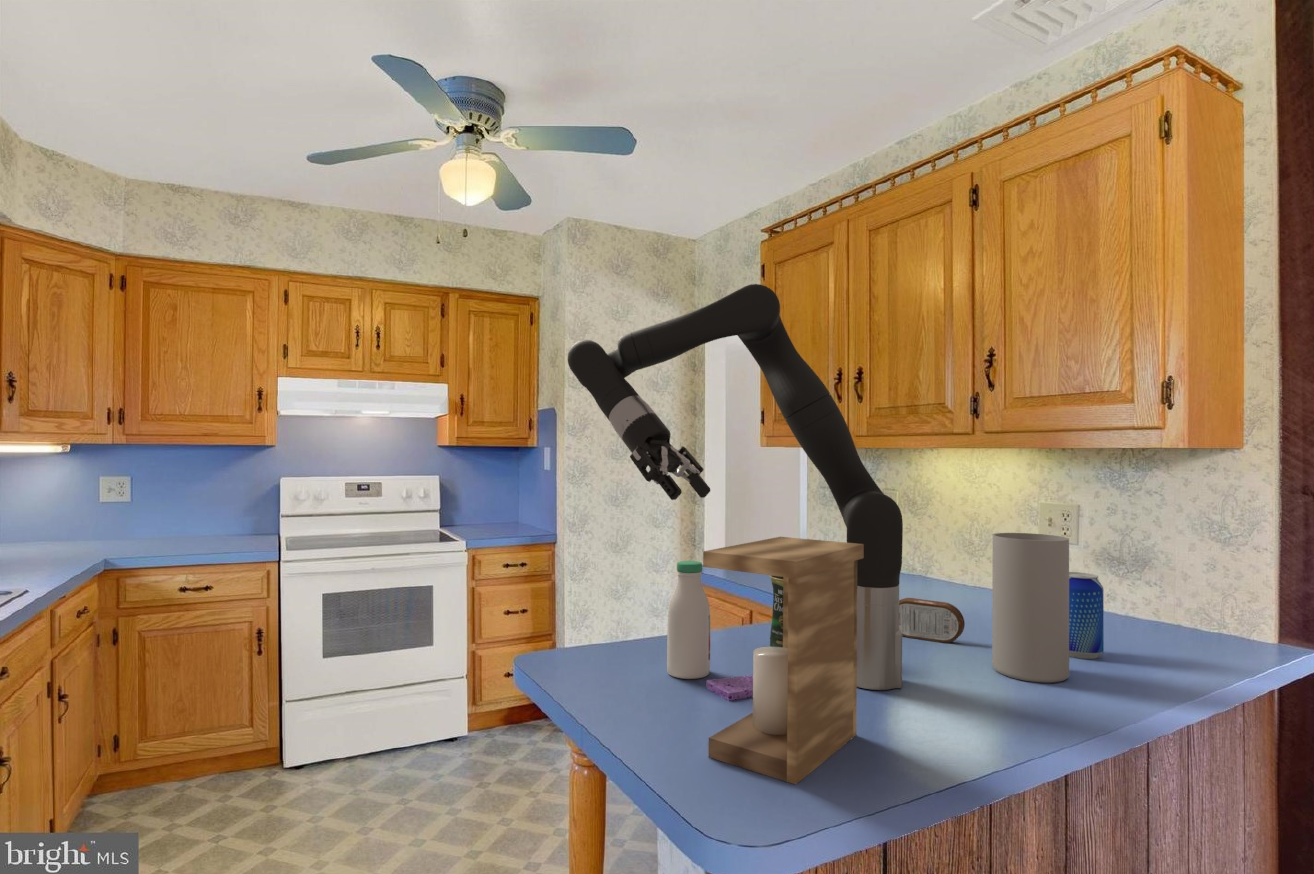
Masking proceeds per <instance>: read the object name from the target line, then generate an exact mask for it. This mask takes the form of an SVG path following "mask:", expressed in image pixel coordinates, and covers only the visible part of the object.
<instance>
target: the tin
mask: <svg viewBox="0 0 1314 874" xmlns="http://www.w3.org/2000/svg"><path fill="white" fill-rule="evenodd" d="M899 629H900V631H901V632H902V637H905V638H909V639H917V640H923V641H930V642H936V643H941V644H942V643H943V644H947V643H953V641H956V640H957V639H959V638H960V636H961V635H962V634H963V632H964V630H965V618H964V616H963V613H962V611H960V609H958V608H957V606H955V605H953V604H951V603H949V602H946V601H937V600H928V599H921V598H914V597H904V598H902V599H899Z"/></svg>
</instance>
